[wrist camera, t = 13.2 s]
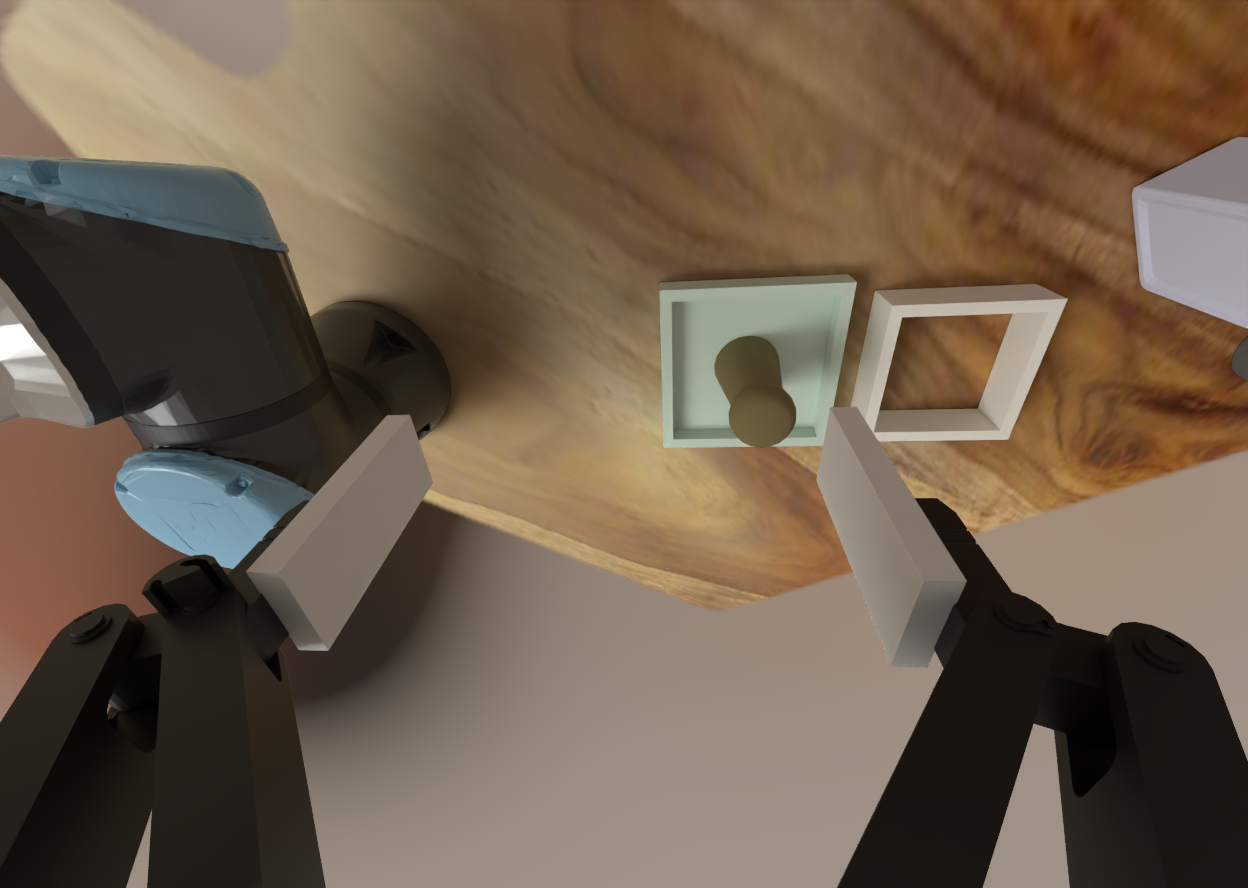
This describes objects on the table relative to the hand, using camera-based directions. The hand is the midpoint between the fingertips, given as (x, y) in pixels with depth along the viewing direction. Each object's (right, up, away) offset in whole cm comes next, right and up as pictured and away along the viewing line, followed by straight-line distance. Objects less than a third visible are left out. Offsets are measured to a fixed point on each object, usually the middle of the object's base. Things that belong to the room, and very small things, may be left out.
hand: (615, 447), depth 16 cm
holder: (+29, +8, +30) cm, 43 cm away
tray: (+12, +8, +32) cm, 35 cm away
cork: (+12, +8, +32) cm, 35 cm away
